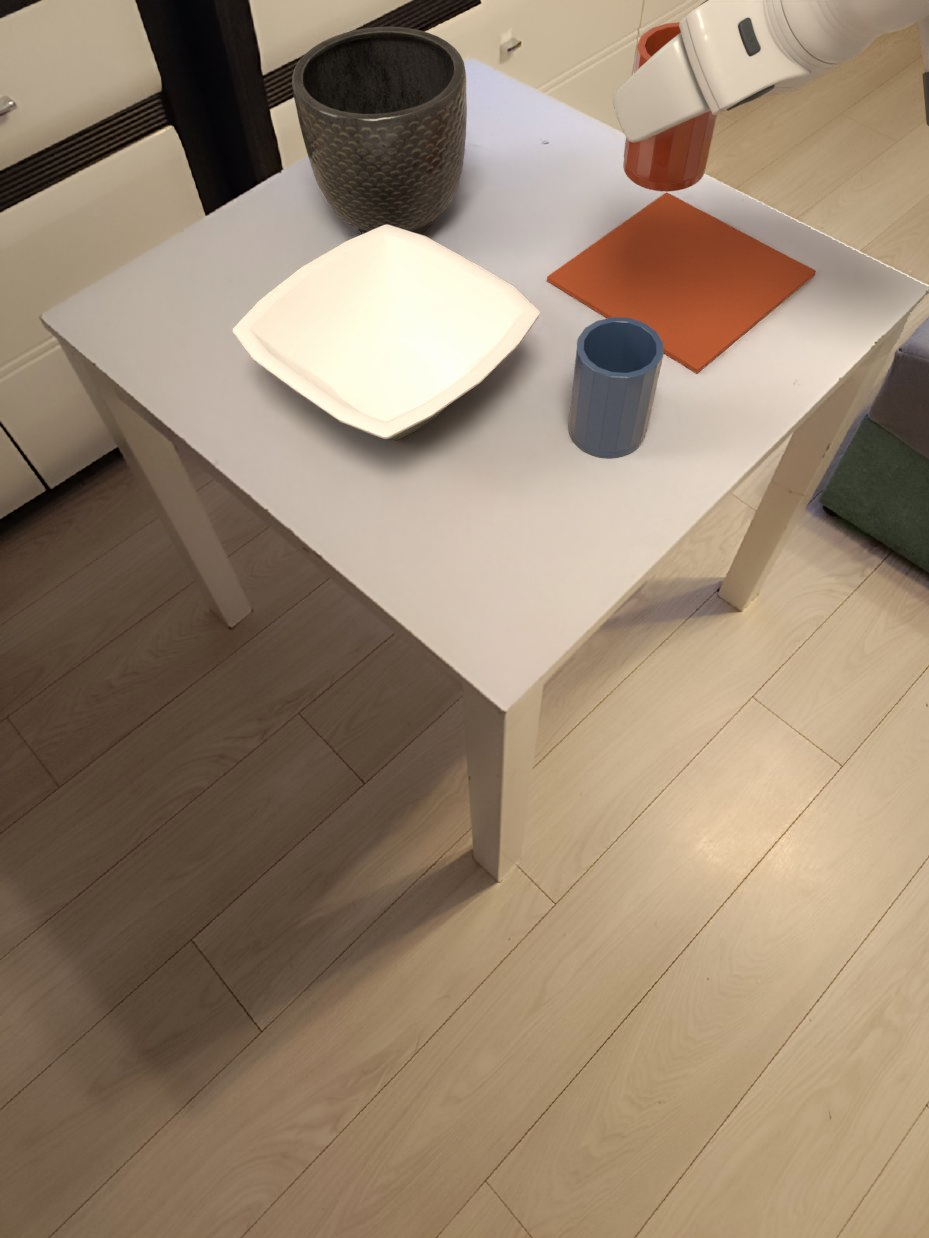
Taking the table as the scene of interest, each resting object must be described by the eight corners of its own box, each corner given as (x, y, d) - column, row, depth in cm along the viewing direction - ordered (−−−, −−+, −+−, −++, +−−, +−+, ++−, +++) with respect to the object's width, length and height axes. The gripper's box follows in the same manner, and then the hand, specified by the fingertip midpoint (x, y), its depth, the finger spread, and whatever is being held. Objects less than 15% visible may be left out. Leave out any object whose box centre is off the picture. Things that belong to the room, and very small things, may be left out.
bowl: (399, 518, 76) (388, 455, 69) (234, 396, 84) (209, 327, 77) (557, 382, 84) (562, 312, 77) (392, 282, 92) (383, 210, 85)
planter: (397, 155, 104) (382, 8, 90) (501, 214, 98) (502, 65, 84) (288, 222, 98) (254, 75, 84) (391, 289, 92) (373, 142, 78)
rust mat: (814, 275, 91) (816, 270, 90) (696, 374, 84) (698, 369, 83) (665, 196, 98) (666, 191, 98) (546, 281, 92) (546, 276, 91)
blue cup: (646, 403, 82) (663, 319, 74) (645, 461, 79) (663, 379, 70) (570, 399, 83) (579, 315, 74) (566, 456, 79) (575, 374, 71)
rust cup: (720, 162, 76) (748, 40, 68) (675, 202, 74) (698, 80, 65) (652, 134, 79) (670, 13, 70) (607, 172, 76) (619, 51, 68)
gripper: (876, -84, 61) (740, 17, 74) (674, 19, 55) (562, 110, 68) (904, 9, 63) (766, 92, 76) (711, 118, 57) (596, 188, 70)
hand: (668, 101), depth 72 cm, fingers closed on rust cup, 7 cm apart
